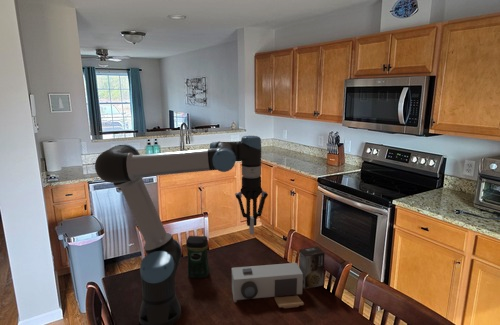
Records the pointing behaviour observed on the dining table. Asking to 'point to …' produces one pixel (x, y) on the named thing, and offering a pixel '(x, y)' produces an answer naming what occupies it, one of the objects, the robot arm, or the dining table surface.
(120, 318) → the dining table surface
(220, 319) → the dining table surface
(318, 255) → the coffee box
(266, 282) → the box
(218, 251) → the dining table surface
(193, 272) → the coffee jar
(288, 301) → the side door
